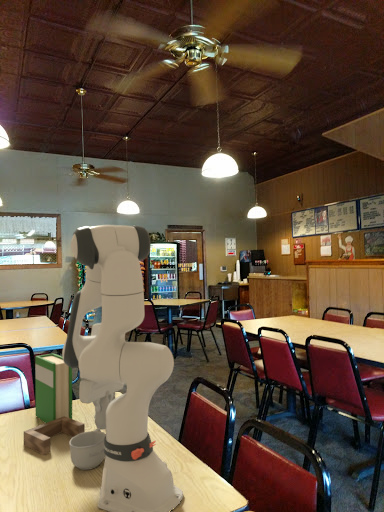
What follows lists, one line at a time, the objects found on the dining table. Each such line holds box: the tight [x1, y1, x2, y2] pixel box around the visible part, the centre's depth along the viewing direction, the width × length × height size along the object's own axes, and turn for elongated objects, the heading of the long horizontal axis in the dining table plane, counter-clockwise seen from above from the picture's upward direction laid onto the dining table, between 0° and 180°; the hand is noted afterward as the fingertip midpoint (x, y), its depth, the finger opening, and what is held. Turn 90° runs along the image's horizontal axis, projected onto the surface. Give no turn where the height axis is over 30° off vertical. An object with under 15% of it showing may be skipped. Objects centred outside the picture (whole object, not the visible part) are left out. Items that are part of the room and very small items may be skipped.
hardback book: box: [34, 353, 73, 424], centre depth 148 cm, size 18×7×24 cm, turn 43°
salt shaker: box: [94, 391, 110, 431], centre depth 130 cm, size 6×6×13 cm
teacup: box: [68, 428, 106, 471], centre depth 114 cm, size 14×11×8 cm
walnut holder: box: [23, 416, 86, 456], centre depth 129 cm, size 12×16×4 cm
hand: (103, 408), depth 130 cm, fingers closed on salt shaker, 4 cm apart
